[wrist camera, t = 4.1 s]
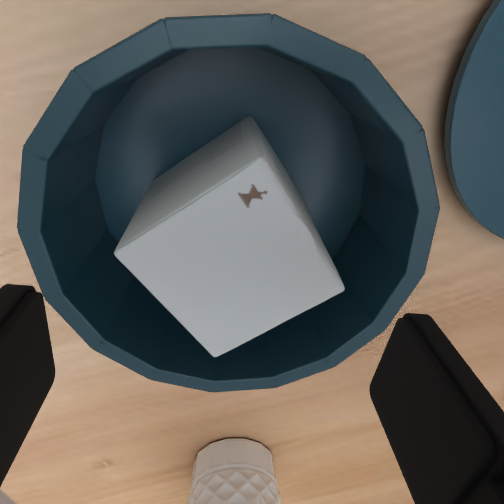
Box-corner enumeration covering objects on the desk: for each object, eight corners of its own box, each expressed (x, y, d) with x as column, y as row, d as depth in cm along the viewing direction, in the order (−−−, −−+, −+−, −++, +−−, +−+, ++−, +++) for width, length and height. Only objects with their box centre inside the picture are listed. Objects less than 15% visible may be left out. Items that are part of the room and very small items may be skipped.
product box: (148, 179, 18) (105, 251, 12) (251, 110, 17) (264, 150, 11) (218, 266, 21) (213, 362, 15) (311, 212, 20) (350, 293, 13)
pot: (215, -71, 14) (206, -147, 8) (432, 183, 20) (512, 238, 14) (27, 205, 19) (-57, 270, 13) (242, 344, 25) (246, 431, 19)
